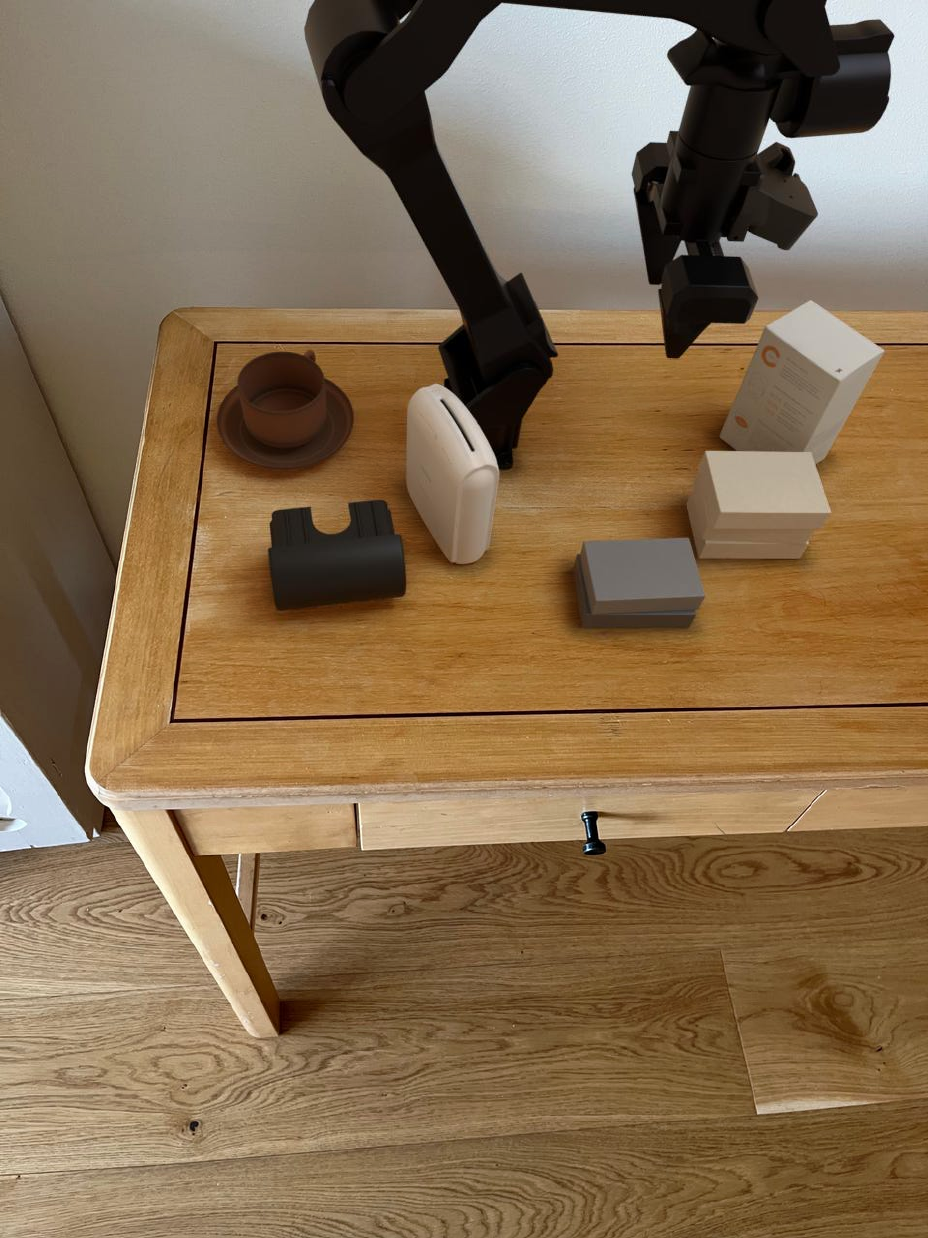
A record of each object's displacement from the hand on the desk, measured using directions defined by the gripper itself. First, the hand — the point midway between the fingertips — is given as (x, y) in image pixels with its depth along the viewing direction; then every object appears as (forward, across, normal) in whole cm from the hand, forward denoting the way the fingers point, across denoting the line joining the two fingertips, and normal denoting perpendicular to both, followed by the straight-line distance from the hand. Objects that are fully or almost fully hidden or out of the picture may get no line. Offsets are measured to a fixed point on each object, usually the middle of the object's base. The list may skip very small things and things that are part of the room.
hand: (663, 319), depth 78 cm
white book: (+8, -13, -8) cm, 17 cm away
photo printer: (+12, -12, +18) cm, 25 cm away
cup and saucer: (+12, -2, +32) cm, 34 cm away
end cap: (+12, -19, +27) cm, 35 cm away
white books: (+12, -13, -8) cm, 19 cm away
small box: (+12, -3, -13) cm, 18 cm away
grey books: (+12, -20, +3) cm, 24 cm away
